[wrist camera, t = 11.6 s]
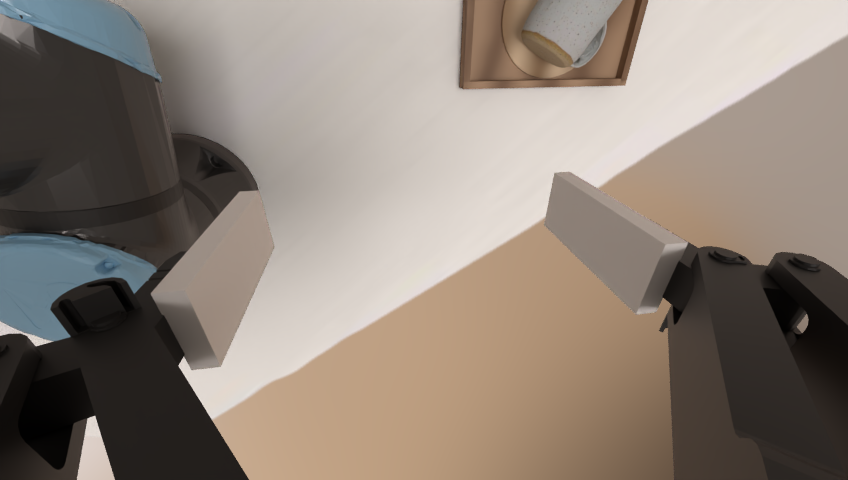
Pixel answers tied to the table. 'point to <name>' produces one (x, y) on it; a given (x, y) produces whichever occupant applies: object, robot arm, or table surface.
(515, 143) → the table surface
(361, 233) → the table surface
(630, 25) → the tray
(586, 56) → the ceramic mug
